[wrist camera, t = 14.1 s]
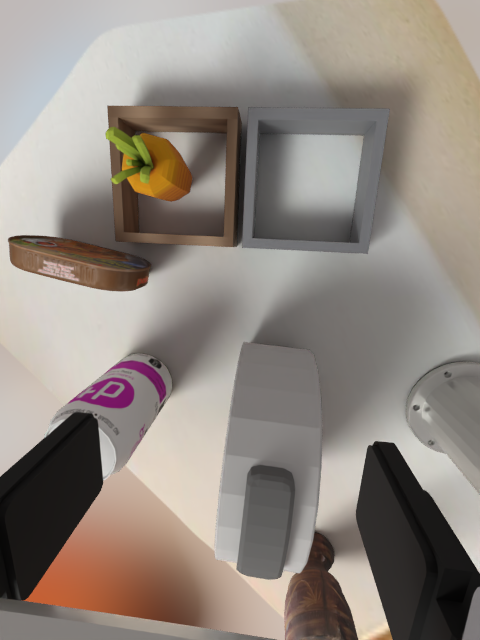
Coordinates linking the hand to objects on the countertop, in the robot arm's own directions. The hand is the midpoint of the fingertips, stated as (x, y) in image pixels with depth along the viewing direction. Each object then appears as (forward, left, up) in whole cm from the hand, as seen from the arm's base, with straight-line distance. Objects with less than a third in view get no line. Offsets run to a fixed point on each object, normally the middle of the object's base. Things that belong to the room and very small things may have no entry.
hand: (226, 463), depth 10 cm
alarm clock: (-2, +14, -28) cm, 32 cm away
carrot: (+9, -13, -28) cm, 33 cm away
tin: (+20, -4, -29) cm, 35 cm away
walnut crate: (+10, -13, -28) cm, 33 cm away
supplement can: (+15, +12, -28) cm, 34 cm away
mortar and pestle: (-11, +37, -28) cm, 48 cm away
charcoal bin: (-4, -13, -28) cm, 31 cm away
